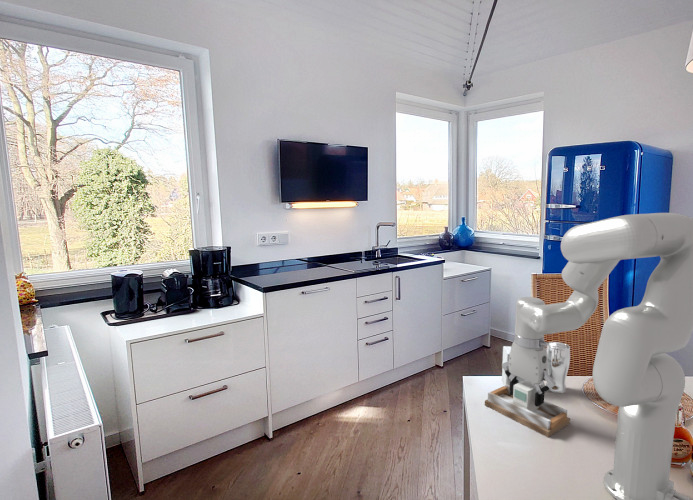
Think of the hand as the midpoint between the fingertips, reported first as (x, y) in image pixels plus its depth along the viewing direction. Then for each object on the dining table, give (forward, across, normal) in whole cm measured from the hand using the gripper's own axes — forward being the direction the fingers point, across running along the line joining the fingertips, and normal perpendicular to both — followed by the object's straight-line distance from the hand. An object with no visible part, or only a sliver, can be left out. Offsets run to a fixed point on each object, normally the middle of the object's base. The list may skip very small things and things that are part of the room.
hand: (526, 398), depth 117 cm
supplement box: (+5, +12, -13) cm, 18 cm away
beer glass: (+5, +3, -22) cm, 23 cm away
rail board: (+5, 0, 0) cm, 5 cm away
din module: (+3, 0, 0) cm, 3 cm away
